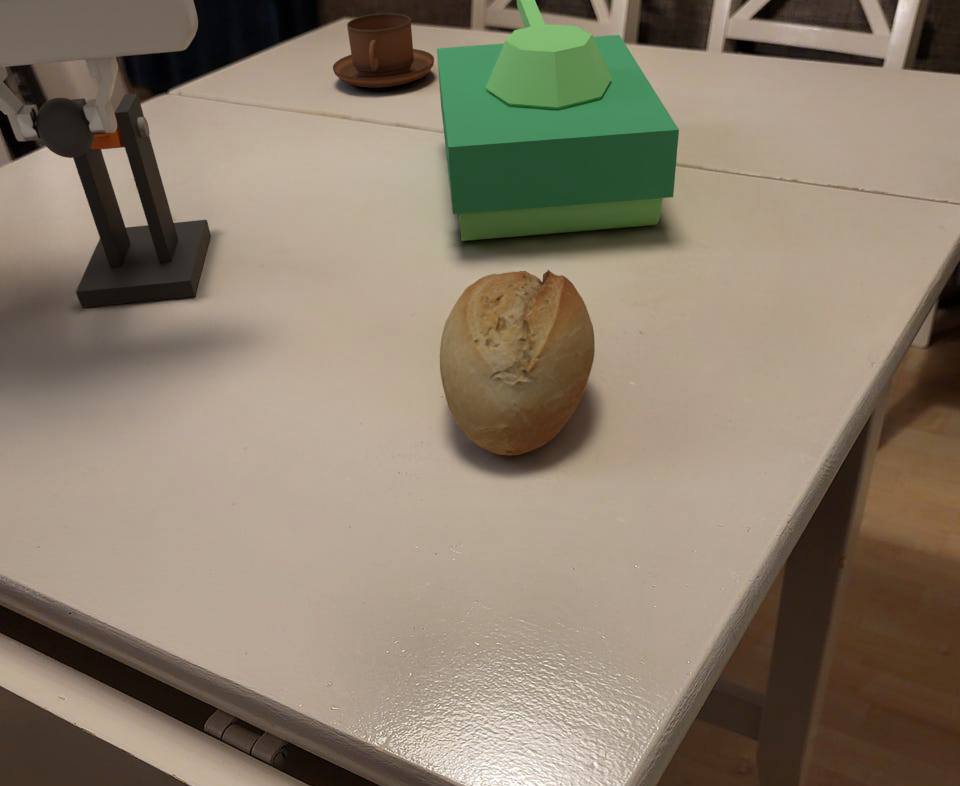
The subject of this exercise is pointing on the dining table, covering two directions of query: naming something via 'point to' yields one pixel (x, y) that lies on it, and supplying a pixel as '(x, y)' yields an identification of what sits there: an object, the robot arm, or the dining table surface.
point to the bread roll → (516, 359)
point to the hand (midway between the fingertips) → (68, 134)
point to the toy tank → (553, 133)
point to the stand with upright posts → (137, 227)
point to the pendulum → (71, 129)
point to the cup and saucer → (382, 53)
